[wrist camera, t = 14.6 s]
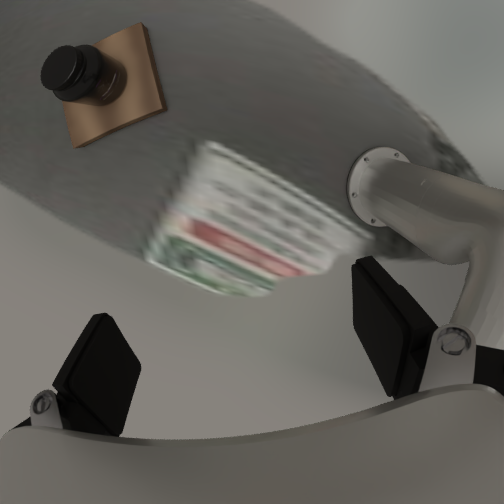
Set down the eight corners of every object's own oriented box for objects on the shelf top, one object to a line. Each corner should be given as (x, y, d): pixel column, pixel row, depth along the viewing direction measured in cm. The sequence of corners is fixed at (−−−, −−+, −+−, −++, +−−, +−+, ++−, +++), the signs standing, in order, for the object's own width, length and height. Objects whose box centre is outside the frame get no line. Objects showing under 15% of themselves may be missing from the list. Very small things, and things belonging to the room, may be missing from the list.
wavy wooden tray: (147, 28, 26) (141, 22, 23) (167, 110, 32) (162, 108, 29) (66, 69, 27) (56, 66, 24) (83, 146, 33) (73, 148, 30)
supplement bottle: (129, 99, 28) (84, 88, 17) (85, 112, 28) (32, 110, 17) (128, 53, 25) (87, 26, 14) (84, 67, 25) (34, 51, 14)
